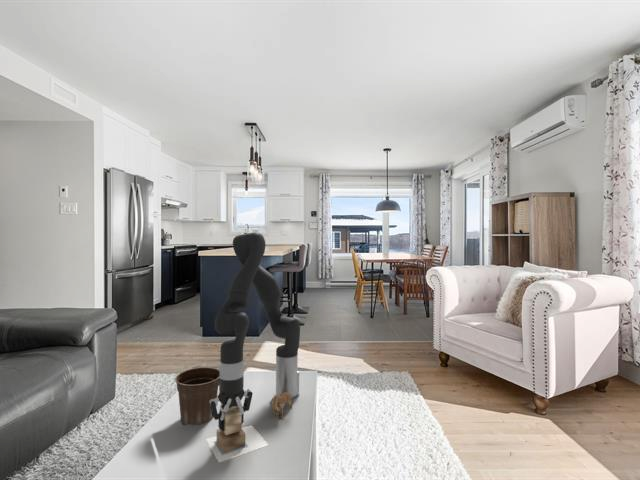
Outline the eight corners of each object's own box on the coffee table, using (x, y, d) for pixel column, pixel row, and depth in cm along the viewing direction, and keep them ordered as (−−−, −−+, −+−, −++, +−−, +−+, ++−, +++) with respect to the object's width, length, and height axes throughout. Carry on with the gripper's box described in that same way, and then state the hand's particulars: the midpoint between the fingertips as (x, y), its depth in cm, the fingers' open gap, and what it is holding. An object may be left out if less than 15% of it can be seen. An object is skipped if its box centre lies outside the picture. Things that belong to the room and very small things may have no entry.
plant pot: (206, 433, 118) (207, 386, 118) (164, 427, 121) (165, 382, 121) (228, 410, 134) (229, 369, 134) (191, 406, 137) (191, 365, 137)
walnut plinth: (237, 435, 115) (237, 423, 115) (245, 446, 109) (245, 433, 109) (216, 442, 111) (216, 429, 111) (223, 453, 105) (223, 440, 105)
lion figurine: (282, 423, 124) (282, 399, 124) (268, 422, 126) (268, 397, 126) (294, 405, 139) (294, 382, 139) (281, 403, 140) (281, 381, 140)
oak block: (235, 423, 114) (235, 405, 114) (241, 430, 109) (241, 411, 109) (220, 427, 111) (221, 409, 111) (225, 435, 107) (226, 415, 107)
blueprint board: (251, 427, 121) (251, 424, 121) (268, 448, 110) (268, 444, 110) (205, 442, 112) (205, 439, 112) (219, 465, 101) (219, 462, 101)
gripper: (248, 366, 117) (247, 416, 117) (205, 375, 109) (204, 428, 109) (257, 373, 111) (256, 426, 111) (212, 383, 103) (212, 440, 103)
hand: (231, 427), depth 110 cm, fingers closed on oak block, 5 cm apart
